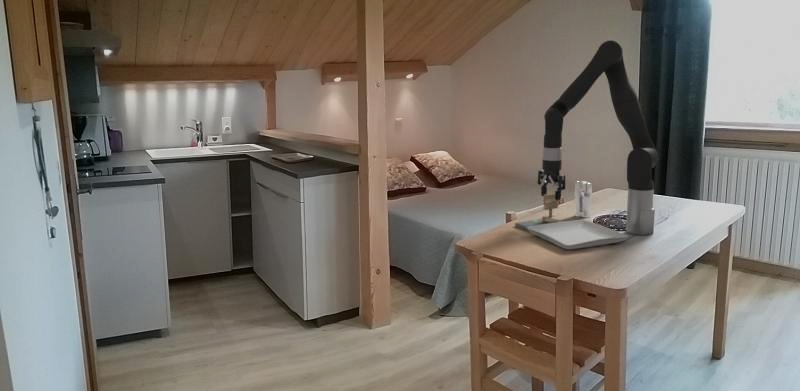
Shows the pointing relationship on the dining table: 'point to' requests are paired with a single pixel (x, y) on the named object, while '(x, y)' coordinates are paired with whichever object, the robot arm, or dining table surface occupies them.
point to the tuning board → (530, 223)
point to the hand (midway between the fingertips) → (550, 197)
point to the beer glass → (582, 198)
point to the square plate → (577, 234)
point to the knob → (549, 205)
